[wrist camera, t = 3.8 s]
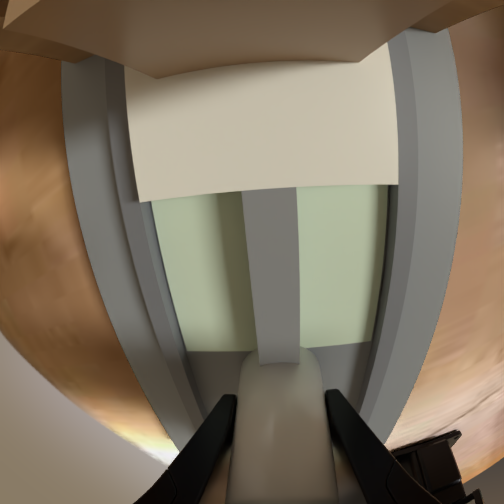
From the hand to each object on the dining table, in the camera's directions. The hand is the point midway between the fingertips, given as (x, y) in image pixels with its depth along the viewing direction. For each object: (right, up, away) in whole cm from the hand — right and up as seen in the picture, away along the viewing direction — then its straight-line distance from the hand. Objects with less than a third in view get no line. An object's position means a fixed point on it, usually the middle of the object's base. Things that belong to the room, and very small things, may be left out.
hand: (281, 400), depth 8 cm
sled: (-1, +7, -2) cm, 7 cm away
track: (0, +6, 0) cm, 6 cm away
